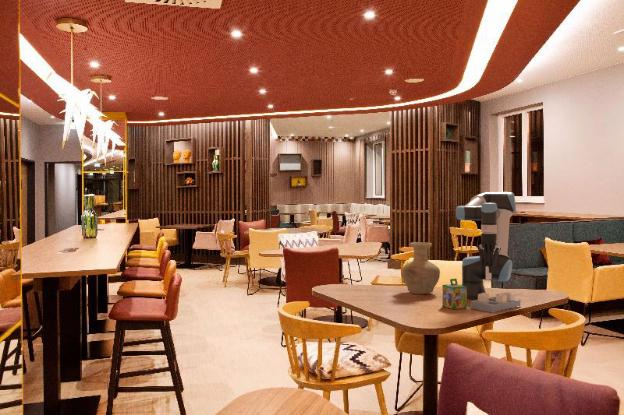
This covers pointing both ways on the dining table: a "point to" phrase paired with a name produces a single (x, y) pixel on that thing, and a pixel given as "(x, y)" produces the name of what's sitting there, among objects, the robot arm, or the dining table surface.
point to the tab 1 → (483, 298)
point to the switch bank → (494, 305)
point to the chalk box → (454, 295)
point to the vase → (420, 271)
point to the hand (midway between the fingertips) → (488, 278)
